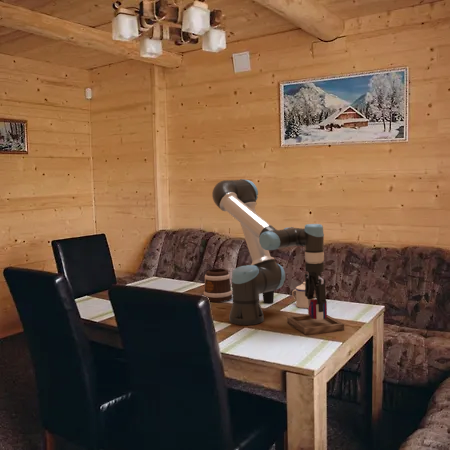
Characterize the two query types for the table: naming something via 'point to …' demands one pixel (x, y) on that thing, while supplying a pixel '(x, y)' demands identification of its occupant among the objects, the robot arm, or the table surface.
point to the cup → (313, 309)
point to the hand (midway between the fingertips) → (315, 316)
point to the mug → (217, 285)
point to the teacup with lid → (300, 296)
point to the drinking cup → (268, 297)
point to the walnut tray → (315, 324)
